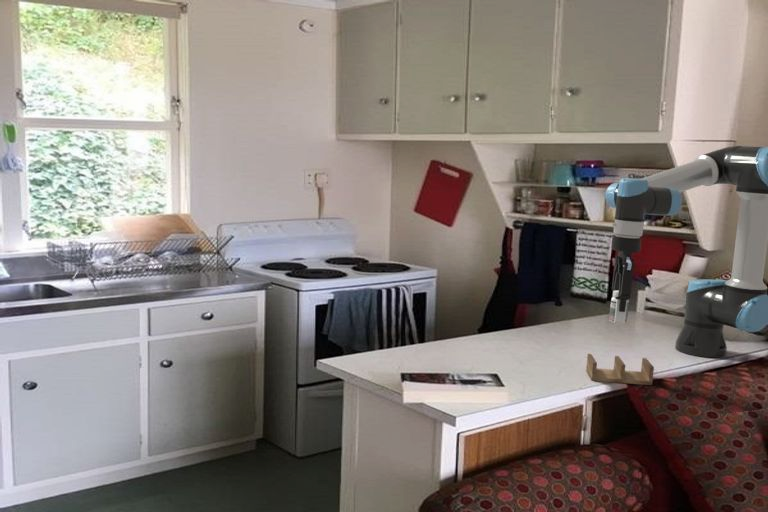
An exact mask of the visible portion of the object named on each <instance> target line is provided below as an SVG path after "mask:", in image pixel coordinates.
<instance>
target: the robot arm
mask: <svg viewBox="0 0 768 512" xmlns="http://www.w3.org/2000/svg"><path fill="white" fill-rule="evenodd" d="M714 185H733V186H736V189H735V192H736V194H737V195H738V196H739V198H740V202H739V209H738V210H739V211H738V219H737V227H736V233H735V234H736V235H735V245H734V251H733V261H732V269H731V275H730V276H731V277H730V278H729V279H728V280H725V279H706V278H705V279H704V278H703V279H702V278H701V279H699V278H698V279H693V280H691V281H690V282H688V286H687V291H686V298H685V308H684V319H683V325H682V327H681V330H680V332H679V334H678V336H677V338H676V339H675V347H674V348H675V350H676V351H679V352H681V353H684V354H688V355H690V356H696V357H705V358H723V357H725V355H726V356H727V351H728V345H727V341H726V337H725V333H724V326H727V327H730V328H734V329H737V330H738V331H739V330H740V331H741V332H743V331H744V332H750V333H756V332H759V331H761V330H763V329H764V328H765V327H766V326H767V325H768V286H767V285H766V284H765V283H764V281H763V280H764V273H765V267H766V266H765V265H766V257H767V249H768V248H767V247H768V146H745V145H733V146H727V147H723V148H720V149H716V150H714V151H713V150H712V151H711V152H707V153H704V154H702V155H699V156H697V157H696V158H695V159H694V160H693V161H691V162H687V163H684V164H682V165H679V166H675V167H671V168H669V169H666V170H664V171H661V172H657V173H654V174H652V175H648V176H645V177H642V178H630V177H623V178H621V179H620V180H619V182H614V183H611V184H610V185H609V186H608V187H607V188H606V191H605V195H604V196H605V202H606V204H607V205H608V207H610V208H612V209H615V215H614V222H612V223H611V225H612V227H613V234H614V235H613V236H612V238H611V239H612V240H611V241H612V242H611V249H612V250H613V251H617V255H614V267H613V275H612V285H611V291H612V292H613V291H615V290H619V293H618V297H615V299H617V302H616V311H615V320H614V323H613V324H622V325H623V324H624V325H625V324H626V323H625V319H626V310H627V302H628V300H630V299H631V295H632V294H631V293H632V285H633V279H634V278H633V275H634V269H635V267H636V266H635V265H636V264H635V261H634V258H633V253H639V252H640V251H641V249H642V238H641V237H642V236H643V232H644V223H645V216H647V215H649V216H650V215H651V216H663V217H666V216H673V215H676V214H677V213H678V212H679V211H680V210H681V207H682V204H683V203H682V202H683V197H682V194H681V193H683V192H686V191H689V190H691V189H694V188H695V189H696V188H697V187H701V186H704V187H711V186H714ZM613 297H614V296H613V295H612V298H613Z"/></svg>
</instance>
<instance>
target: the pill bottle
mask: <svg viewBox="0 0 768 512" xmlns="http://www.w3.org/2000/svg"><path fill="white" fill-rule="evenodd" d="M618 293H619V290H615V291H612V297H611V300H610V304H609V305H610V307H609V316H608V321H609V322H610V323H613V324H615V323H614V320H615V311H616V302H617V299H615V297H618ZM613 296H614V297H613ZM629 305H630V299H628V302H627V310H626V319H625V324H626V323H627V322H628V314H629Z"/></svg>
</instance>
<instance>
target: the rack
mask: <svg viewBox="0 0 768 512" xmlns="http://www.w3.org/2000/svg"><path fill="white" fill-rule="evenodd" d="M613 363H614V364H613V369H611V368H610V369H609V368H597V367H598V362H597V361H596V359H595V357H594V356H593V354H591V353H587V357H586V369H585V371H586V373H587V375H588V377H589V379H590V381H592V382H593V381H594V382H603V383H619V384H628V385H629V384H631V385H645V386H653V382H654V381H653V380H654V371H655V367H654V365H653V364H652V363H651V362H650V361H649V360H648V359H647V358H646V357H642V358H641V368H640V371H635V370H626V363H624V361H623V359H622V358H621V357H620V356H619V355H615V356H614V362H613Z"/></svg>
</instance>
